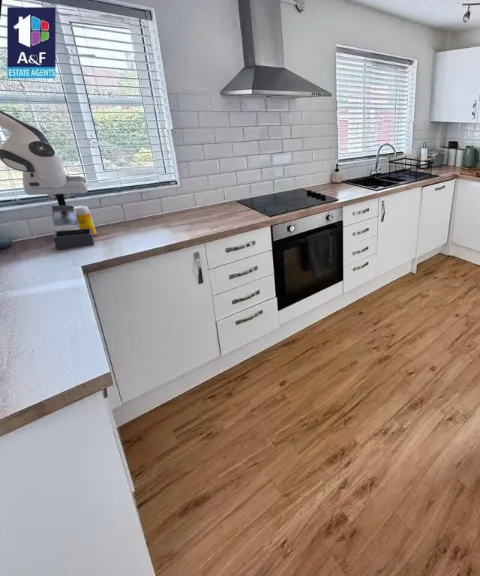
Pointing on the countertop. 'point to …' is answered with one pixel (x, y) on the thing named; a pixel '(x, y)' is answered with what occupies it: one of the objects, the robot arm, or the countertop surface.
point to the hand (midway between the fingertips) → (60, 197)
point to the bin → (73, 238)
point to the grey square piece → (63, 213)
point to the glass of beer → (84, 218)
